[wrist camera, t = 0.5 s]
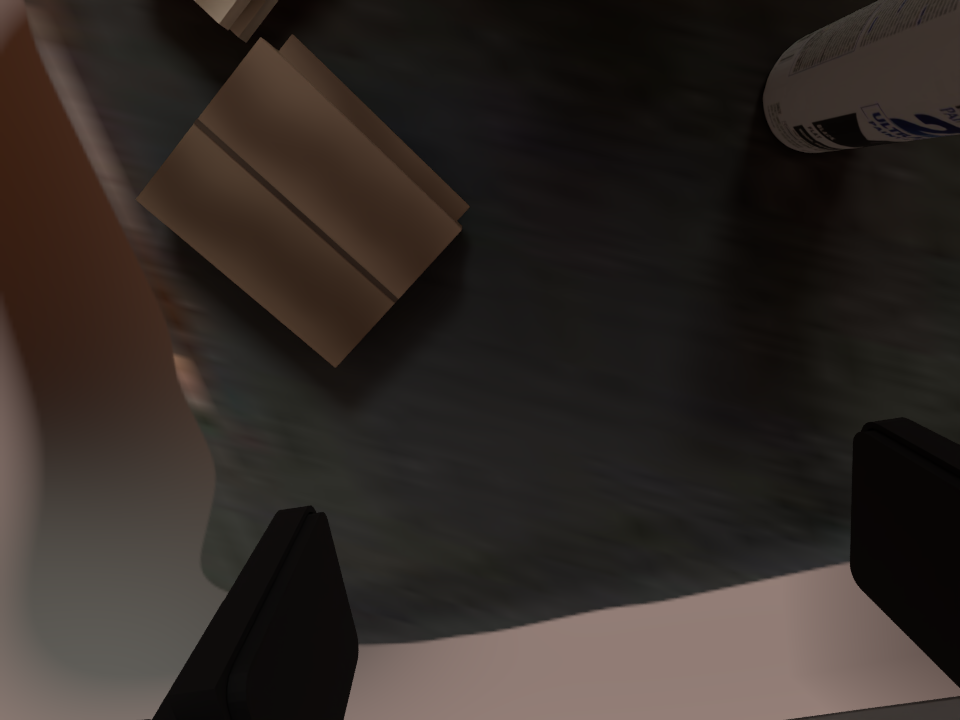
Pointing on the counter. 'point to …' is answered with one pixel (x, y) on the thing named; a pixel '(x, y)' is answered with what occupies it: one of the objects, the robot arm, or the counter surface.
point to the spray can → (870, 79)
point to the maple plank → (238, 14)
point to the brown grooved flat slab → (304, 198)
